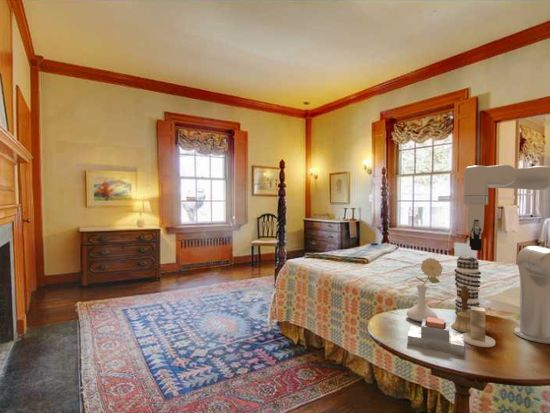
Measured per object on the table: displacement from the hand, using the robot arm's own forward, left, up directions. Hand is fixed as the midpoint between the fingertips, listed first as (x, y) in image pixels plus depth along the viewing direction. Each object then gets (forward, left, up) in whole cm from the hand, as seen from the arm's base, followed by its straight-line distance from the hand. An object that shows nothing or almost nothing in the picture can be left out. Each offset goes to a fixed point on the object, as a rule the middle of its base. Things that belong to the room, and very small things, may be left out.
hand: (475, 248), depth 116 cm
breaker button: (+17, +12, -27) cm, 34 cm away
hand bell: (+2, -4, -31) cm, 31 cm away
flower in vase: (+14, -11, -31) cm, 35 cm away
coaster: (+2, +7, -30) cm, 31 cm away
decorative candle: (-4, -16, -31) cm, 35 cm away
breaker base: (+17, +12, -30) cm, 37 cm away
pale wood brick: (+2, +7, -30) cm, 30 cm away
